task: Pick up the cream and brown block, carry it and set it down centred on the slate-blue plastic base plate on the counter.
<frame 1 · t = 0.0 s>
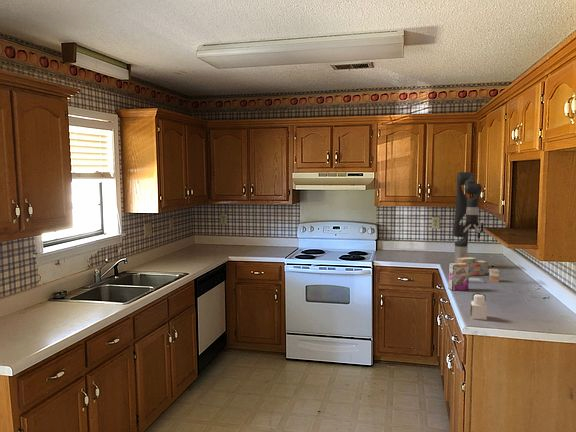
hand: (471, 238, 315), 29 cm above the worktop, tool pointing down, fingers open, 8 cm apart
stack of blocks: (471, 275, 341), on the worktop
cream and brown block: (493, 281, 320), on the worktop
base plate: (473, 280, 320), on the worktop
candy bar box: (458, 289, 297), on the worktop
medicine bottle: (478, 317, 240), on the worktop
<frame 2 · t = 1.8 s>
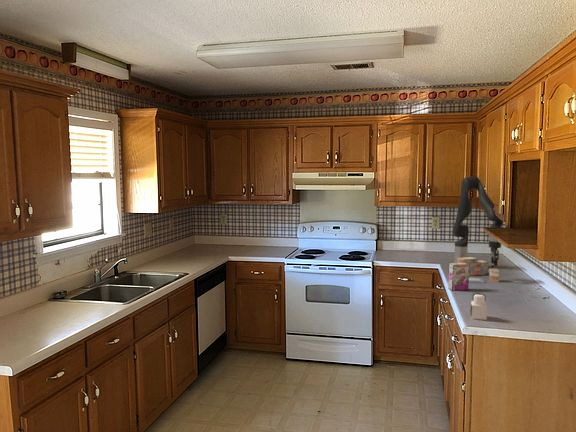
hand: (494, 264, 318), 11 cm above the worktop, tool pointing down, fingers open, 8 cm apart
nothing on the worktop moved.
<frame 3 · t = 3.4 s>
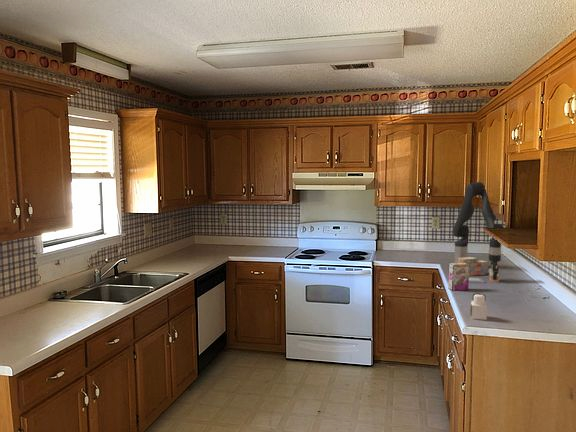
hand: (493, 278, 319), 2 cm above the worktop, tool pointing down, fingers closed on cream and brown block, 5 cm apart
cream and brown block: (493, 281, 320), on the worktop, touching gripper
everything else where it was.
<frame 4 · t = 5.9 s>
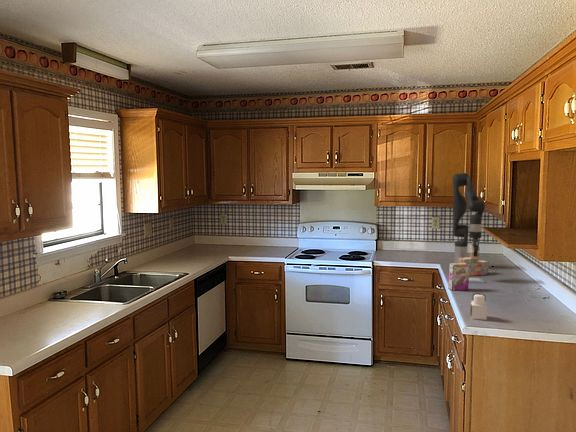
hand: (474, 255, 319), 17 cm above the worktop, tool pointing down, fingers closed on cream and brown block, 5 cm apart
cream and brown block: (474, 258, 319), point 15 cm above the worktop, touching gripper
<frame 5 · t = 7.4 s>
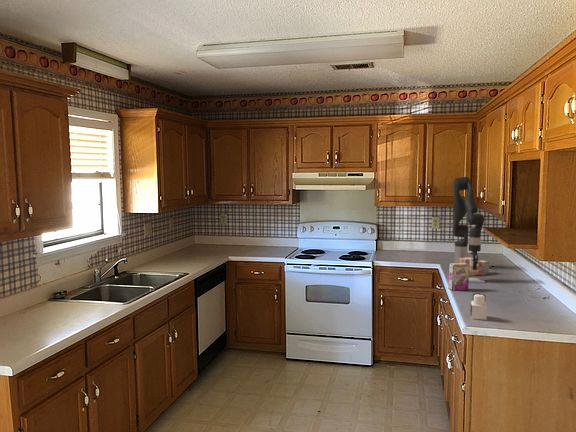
hand: (473, 268, 320), 8 cm above the worktop, tool pointing down, fingers closed on cream and brown block, 5 cm apart
cream and brown block: (473, 271, 320), point 7 cm above the worktop, touching gripper
when the fingers open (4 cm above the worktop, at t = 8.7 s): cream and brown block drops 1 cm, resting on base plate.
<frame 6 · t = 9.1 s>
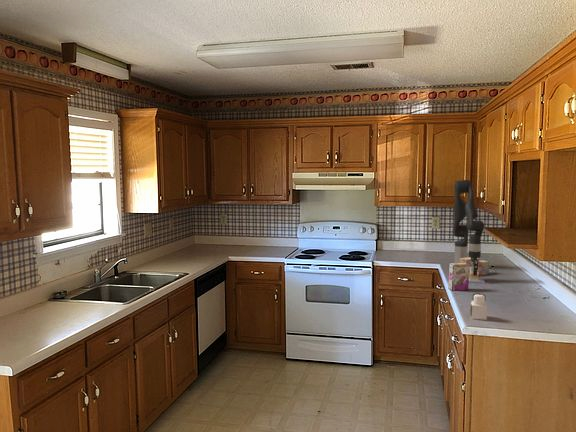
hand: (474, 274, 320), 5 cm above the worktop, tool pointing down, fingers open, 8 cm apart
cream and brown block: (473, 279, 320), point 1 cm above the worktop, touching base plate
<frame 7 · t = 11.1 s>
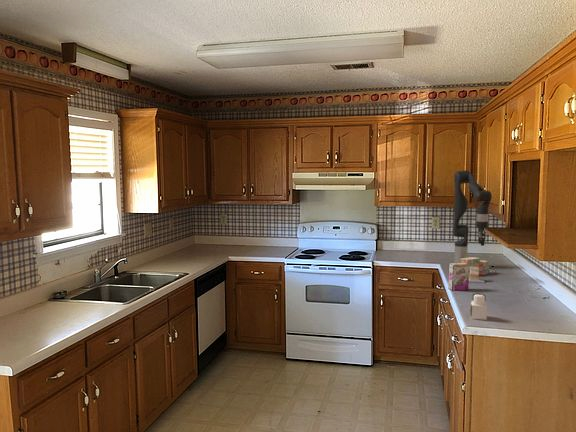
hand: (481, 244, 321), 24 cm above the worktop, tool pointing down, fingers open, 8 cm apart
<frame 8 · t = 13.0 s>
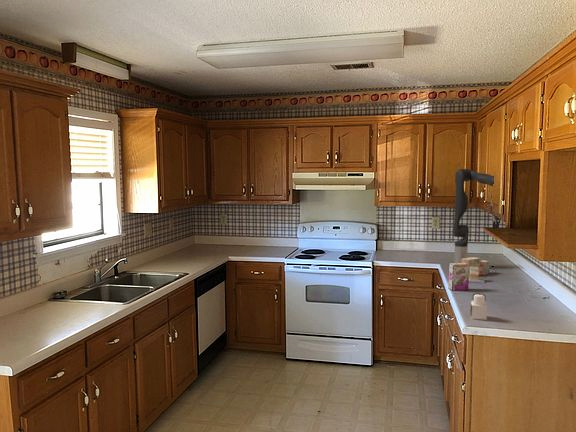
hand: (495, 228, 326), 34 cm above the worktop, tool pointing down, fingers open, 8 cm apart
at the end: cream and brown block inside the target area on the base plate (0.1 cm from its centre), point 1.1 cm above the base plate's base; cream and brown block tilted 0°; the gripper is holding nothing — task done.
